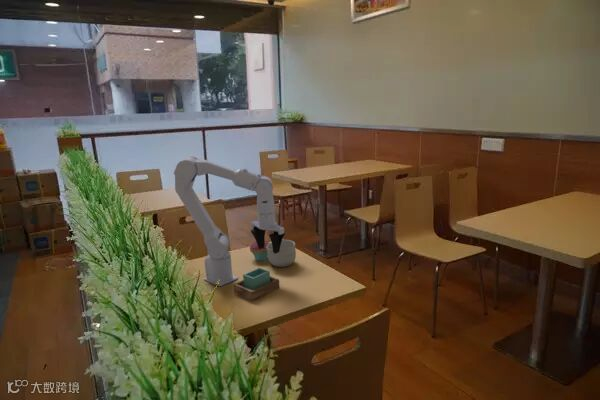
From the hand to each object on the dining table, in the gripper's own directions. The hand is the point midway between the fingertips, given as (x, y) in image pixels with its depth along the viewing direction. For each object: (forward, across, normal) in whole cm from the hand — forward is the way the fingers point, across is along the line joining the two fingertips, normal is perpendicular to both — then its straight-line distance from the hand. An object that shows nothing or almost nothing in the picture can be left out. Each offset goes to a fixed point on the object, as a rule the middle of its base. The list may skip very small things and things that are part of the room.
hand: (268, 250), depth 140 cm
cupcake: (+10, +16, -10) cm, 21 cm away
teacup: (+10, +6, -12) cm, 17 cm away
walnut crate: (+10, -4, +10) cm, 15 cm away
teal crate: (+9, -4, +10) cm, 14 cm away
